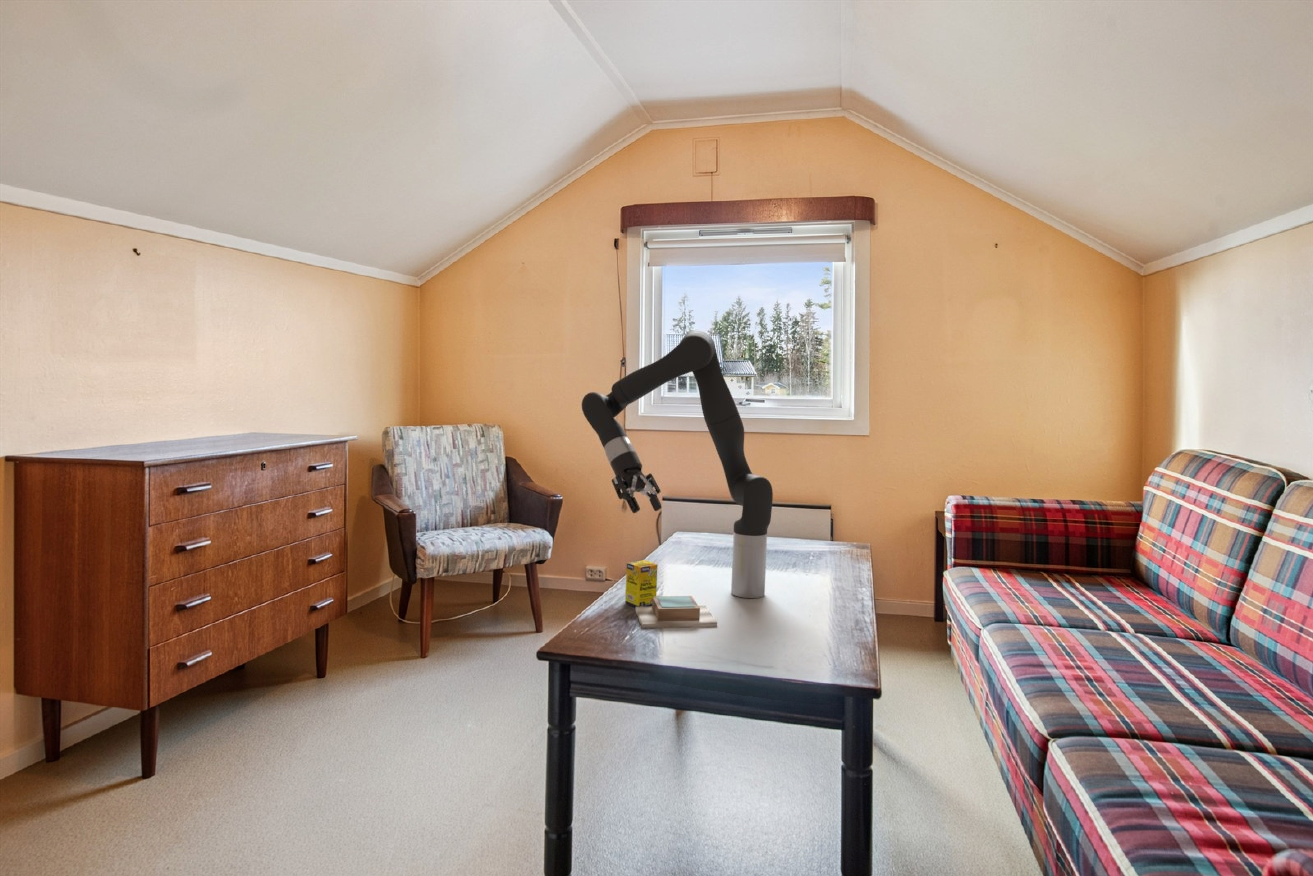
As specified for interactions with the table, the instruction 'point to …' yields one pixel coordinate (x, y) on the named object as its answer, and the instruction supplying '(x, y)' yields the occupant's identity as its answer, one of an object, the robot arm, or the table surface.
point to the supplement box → (641, 583)
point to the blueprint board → (654, 623)
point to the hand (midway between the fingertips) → (647, 510)
